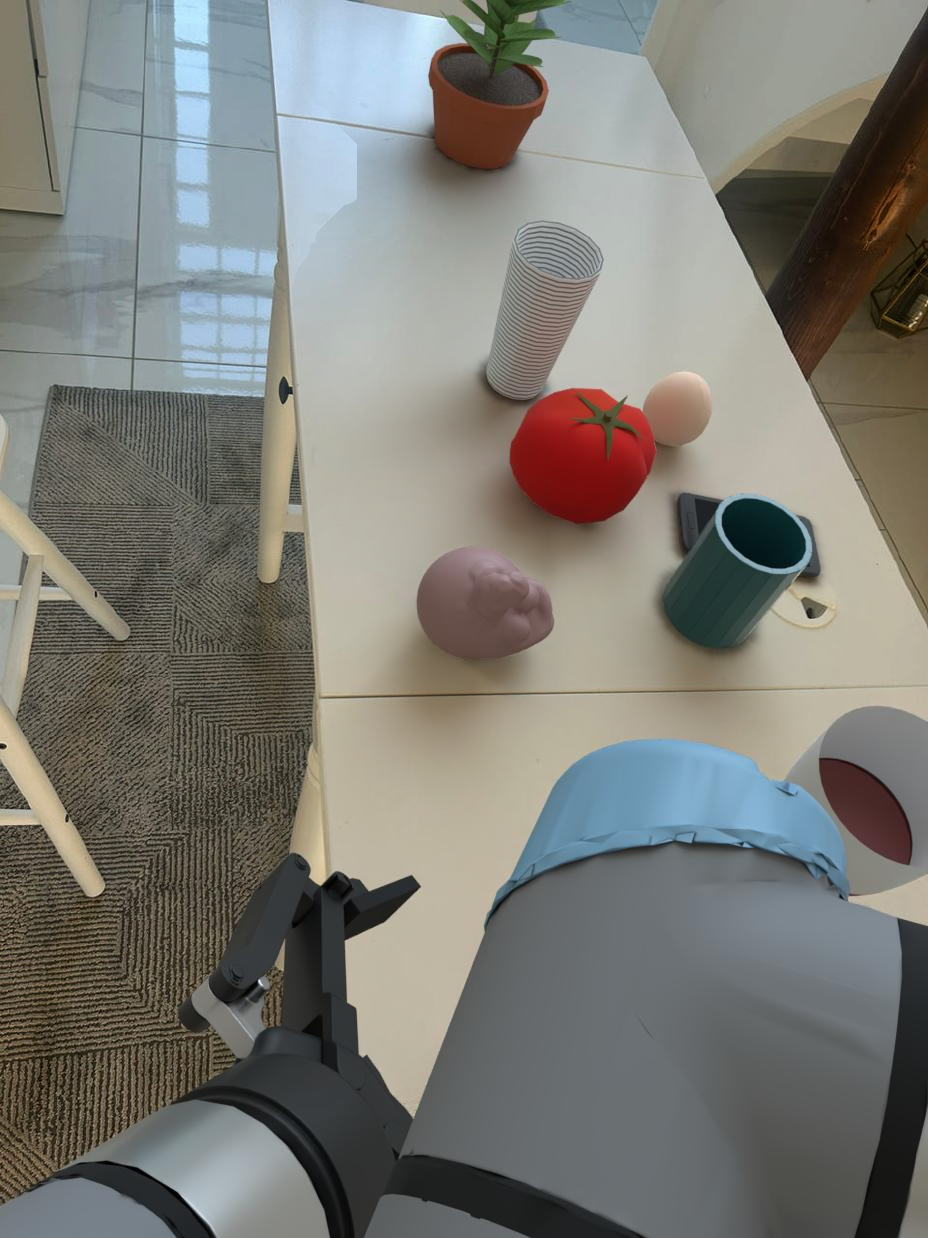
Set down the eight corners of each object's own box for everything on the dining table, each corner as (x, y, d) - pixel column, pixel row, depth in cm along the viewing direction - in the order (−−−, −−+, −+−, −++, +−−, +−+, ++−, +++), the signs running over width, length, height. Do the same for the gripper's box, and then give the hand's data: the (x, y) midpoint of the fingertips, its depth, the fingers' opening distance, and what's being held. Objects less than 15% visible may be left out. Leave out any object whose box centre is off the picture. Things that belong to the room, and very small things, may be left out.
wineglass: (629, 906, 70) (784, 764, 51) (715, 831, 75) (885, 677, 57) (720, 1014, 67) (919, 904, 49) (803, 927, 72) (1012, 799, 54)
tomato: (545, 560, 87) (583, 479, 78) (475, 462, 92) (504, 376, 83) (657, 520, 93) (704, 442, 84) (586, 431, 98) (623, 348, 89)
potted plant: (390, 132, 121) (438, -157, 97) (467, 102, 129) (528, -172, 105) (480, 195, 117) (552, -89, 93) (553, 159, 126) (637, -110, 102)
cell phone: (675, 495, 95) (678, 490, 94) (807, 522, 97) (811, 517, 96) (681, 553, 91) (684, 548, 90) (819, 580, 93) (823, 575, 92)
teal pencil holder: (768, 635, 88) (832, 560, 79) (695, 660, 84) (753, 584, 75) (717, 563, 91) (773, 484, 82) (645, 584, 88) (696, 504, 79)
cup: (565, 376, 102) (617, 247, 89) (535, 422, 97) (586, 292, 84) (493, 340, 102) (534, 207, 90) (459, 384, 97) (498, 250, 85)
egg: (675, 411, 103) (707, 352, 96) (704, 457, 99) (738, 400, 93) (621, 416, 100) (650, 356, 94) (648, 464, 97) (680, 405, 91)
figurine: (541, 690, 79) (588, 605, 69) (405, 673, 77) (434, 582, 67) (537, 602, 84) (581, 511, 74) (410, 583, 82) (438, 487, 72)
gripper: (-70, 955, 31) (283, 859, 51) (416, 1794, 23) (611, 1298, 43) (70, 798, 30) (378, 761, 49) (638, 1639, 22) (735, 1198, 42)
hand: (487, 1011), depth 46 cm, fingers open, 13 cm apart
